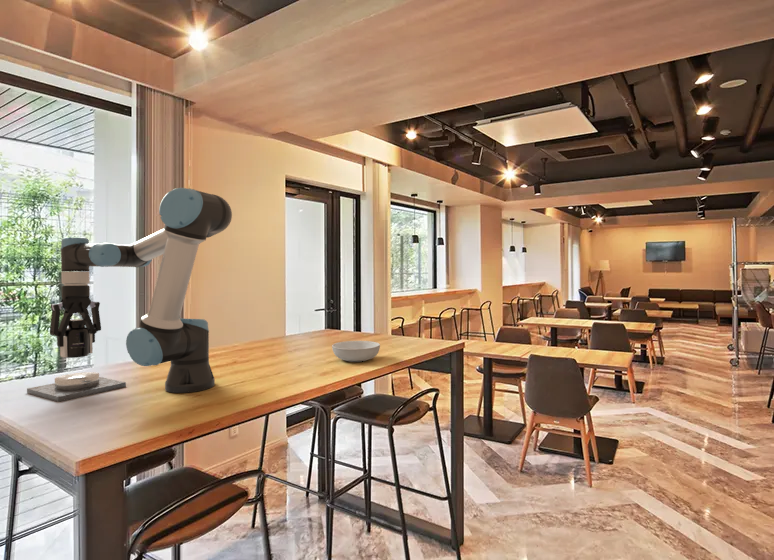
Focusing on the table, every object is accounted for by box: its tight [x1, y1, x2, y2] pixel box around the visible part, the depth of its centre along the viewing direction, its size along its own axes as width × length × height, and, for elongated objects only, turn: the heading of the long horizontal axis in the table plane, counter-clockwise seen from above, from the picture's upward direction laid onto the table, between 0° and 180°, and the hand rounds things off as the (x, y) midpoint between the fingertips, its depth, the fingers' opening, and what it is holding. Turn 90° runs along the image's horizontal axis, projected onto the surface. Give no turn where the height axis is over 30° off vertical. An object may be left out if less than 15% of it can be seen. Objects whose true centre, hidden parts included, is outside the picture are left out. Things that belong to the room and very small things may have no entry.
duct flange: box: [26, 371, 127, 403], centre depth 146 cm, size 20×20×4 cm
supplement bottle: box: [64, 318, 90, 359], centre depth 146 cm, size 7×7×12 cm
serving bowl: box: [331, 340, 381, 363], centre depth 193 cm, size 21×21×7 cm
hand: (76, 354), depth 146 cm, fingers closed on supplement bottle, 7 cm apart
